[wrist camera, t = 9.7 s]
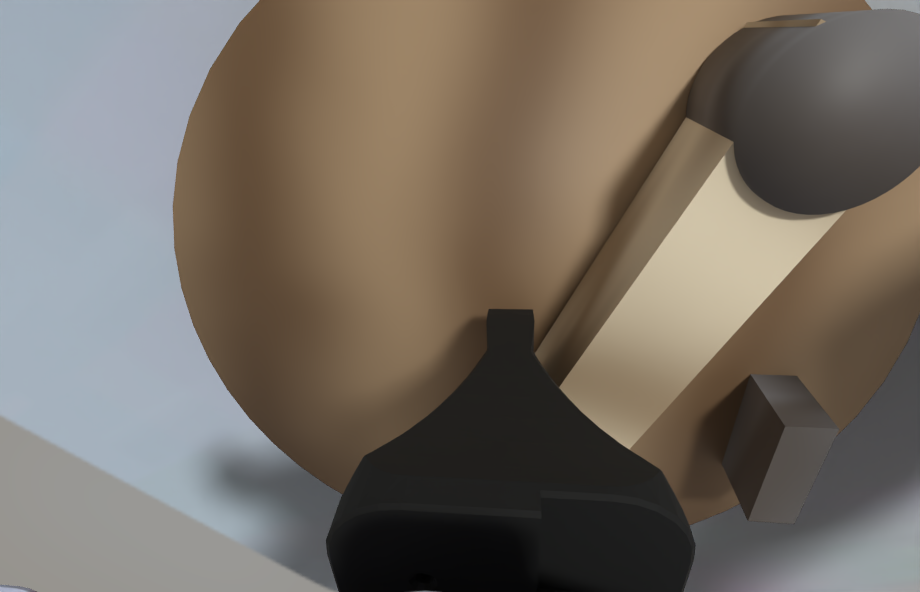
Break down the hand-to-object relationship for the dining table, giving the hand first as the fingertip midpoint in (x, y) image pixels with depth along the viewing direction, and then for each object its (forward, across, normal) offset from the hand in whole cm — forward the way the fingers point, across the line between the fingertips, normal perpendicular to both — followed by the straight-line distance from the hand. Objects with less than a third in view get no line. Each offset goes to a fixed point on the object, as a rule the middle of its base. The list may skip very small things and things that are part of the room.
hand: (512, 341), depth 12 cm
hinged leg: (+1, -3, -1) cm, 3 cm away
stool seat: (+3, 0, 0) cm, 3 cm away
